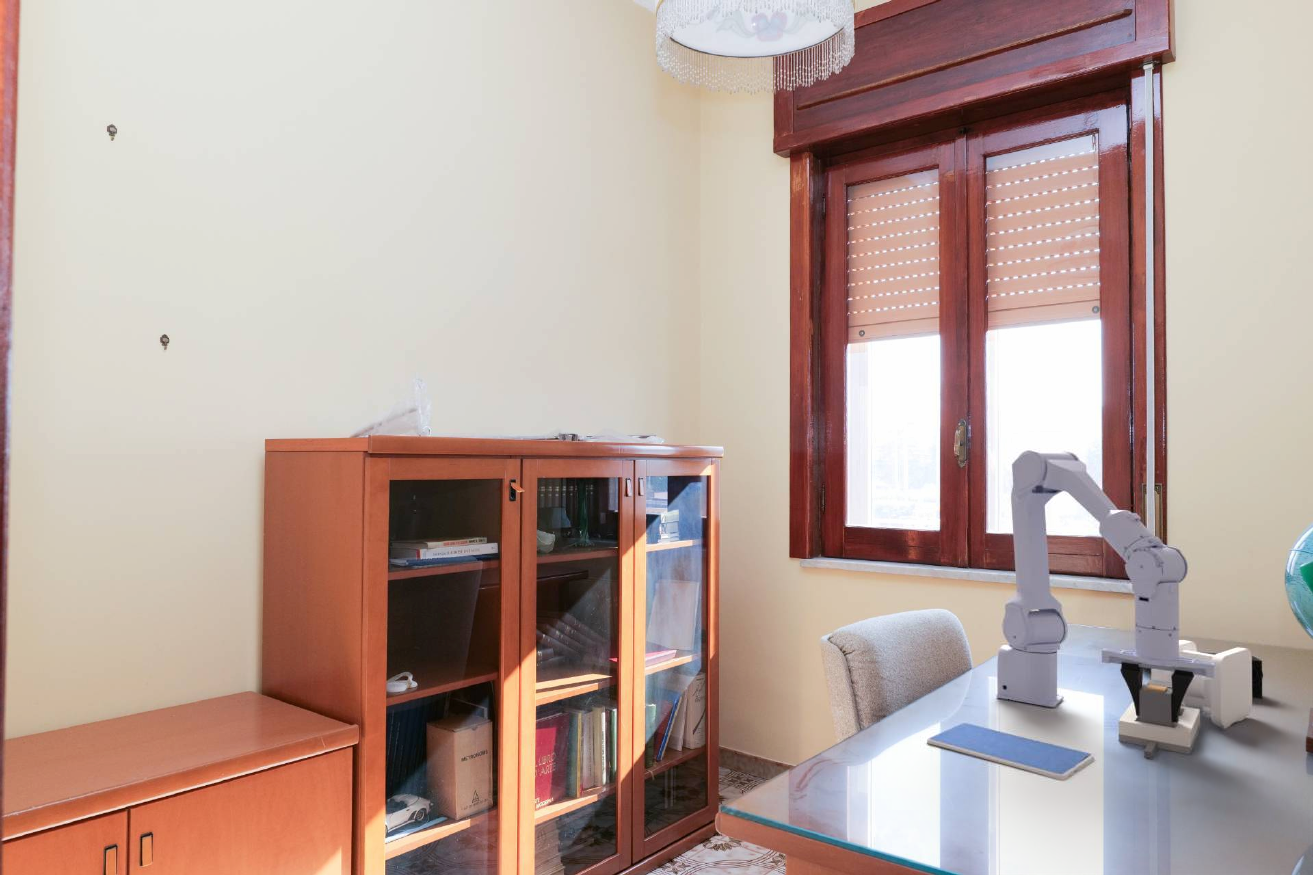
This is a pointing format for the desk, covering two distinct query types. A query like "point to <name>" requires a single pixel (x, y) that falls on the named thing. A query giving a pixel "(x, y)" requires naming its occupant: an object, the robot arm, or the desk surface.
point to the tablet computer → (1013, 750)
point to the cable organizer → (1217, 684)
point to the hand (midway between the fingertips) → (1156, 717)
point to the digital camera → (1254, 676)
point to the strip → (1161, 729)
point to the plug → (1156, 705)
